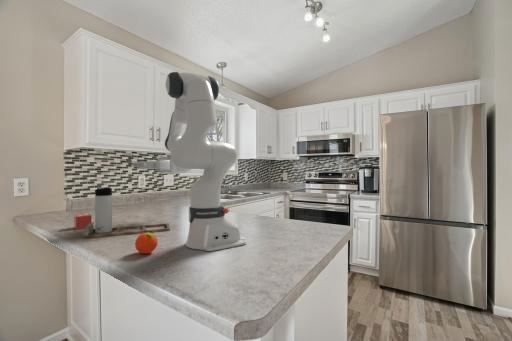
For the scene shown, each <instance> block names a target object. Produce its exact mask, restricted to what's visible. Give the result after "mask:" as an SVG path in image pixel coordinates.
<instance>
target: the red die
mask: <svg viewBox="0 0 512 341" xmlns="http://www.w3.org/2000/svg"><path fill="white" fill-rule="evenodd" d="M90 223H92V214H90V213H82V214H81V213H80V214H73V228H74V230H75V231H77V230H84V228H85V227H86V226H87V225H88V224H90Z"/></svg>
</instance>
